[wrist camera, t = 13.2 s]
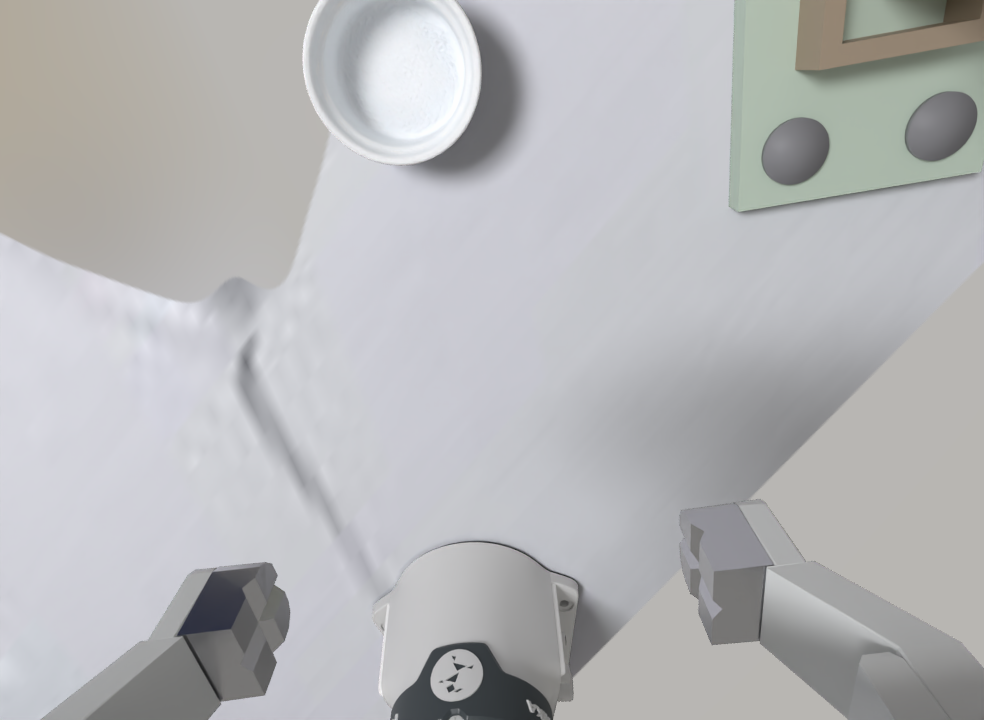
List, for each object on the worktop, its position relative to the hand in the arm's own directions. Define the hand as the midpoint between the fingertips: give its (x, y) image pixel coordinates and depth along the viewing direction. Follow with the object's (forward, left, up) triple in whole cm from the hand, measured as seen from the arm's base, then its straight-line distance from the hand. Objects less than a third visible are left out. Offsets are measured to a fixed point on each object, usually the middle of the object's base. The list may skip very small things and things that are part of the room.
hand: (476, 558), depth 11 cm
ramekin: (+9, +3, -28) cm, 29 cm away
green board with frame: (+7, -22, -28) cm, 36 cm away
